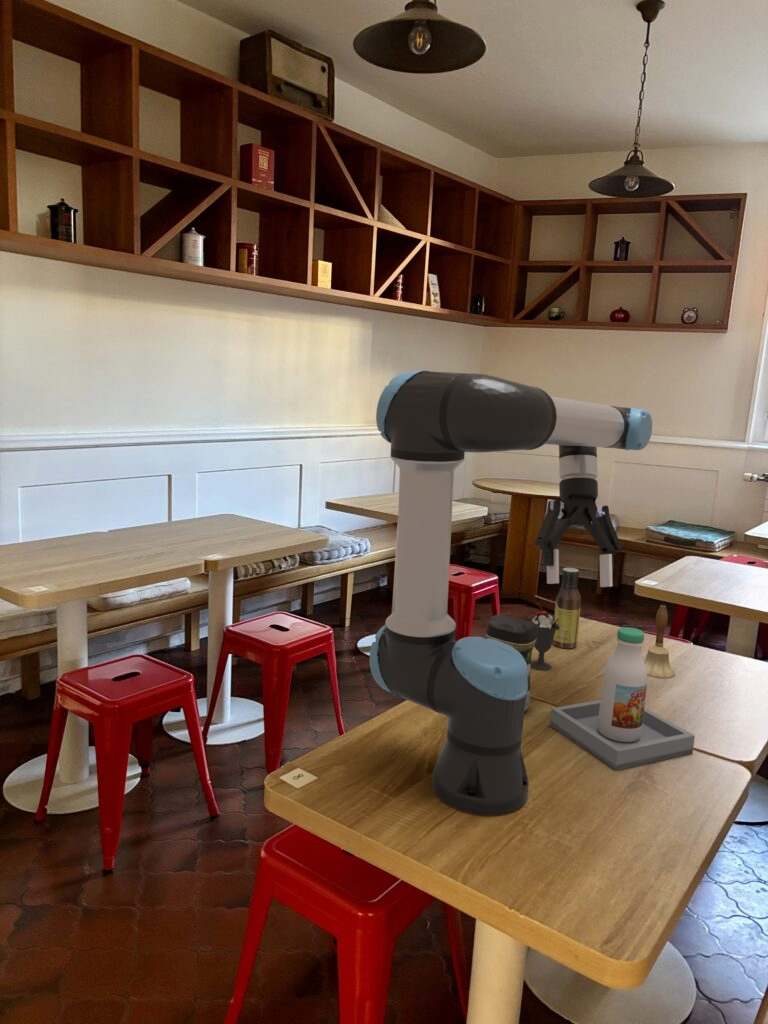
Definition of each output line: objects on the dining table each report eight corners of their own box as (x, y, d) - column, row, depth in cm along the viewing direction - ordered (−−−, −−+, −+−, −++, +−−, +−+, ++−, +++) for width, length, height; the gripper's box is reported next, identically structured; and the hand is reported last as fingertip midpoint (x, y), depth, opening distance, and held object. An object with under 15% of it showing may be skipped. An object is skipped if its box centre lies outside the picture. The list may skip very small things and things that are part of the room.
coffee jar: (473, 706, 151) (481, 616, 147) (491, 694, 157) (498, 608, 154) (518, 720, 145) (527, 628, 142) (534, 707, 152) (543, 618, 149)
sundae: (520, 661, 177) (526, 600, 174) (545, 660, 179) (551, 599, 176) (534, 672, 170) (540, 608, 168) (560, 670, 172) (566, 607, 170)
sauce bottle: (561, 639, 194) (569, 564, 191) (582, 646, 190) (590, 570, 186) (545, 644, 190) (553, 567, 187) (566, 651, 185) (574, 573, 182)
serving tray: (615, 770, 128) (618, 751, 127) (549, 725, 144) (551, 708, 143) (692, 753, 136) (694, 735, 135) (621, 712, 152) (623, 696, 151)
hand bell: (659, 680, 170) (668, 613, 167) (629, 668, 177) (637, 602, 174) (682, 674, 174) (691, 608, 172) (652, 662, 181) (660, 598, 179)
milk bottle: (592, 736, 138) (605, 631, 135) (601, 721, 145) (613, 621, 141) (636, 747, 134) (650, 640, 131) (643, 731, 141) (656, 629, 138)
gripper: (611, 489, 161) (614, 588, 158) (516, 476, 150) (517, 582, 147) (637, 483, 155) (641, 587, 151) (540, 469, 143) (541, 581, 140)
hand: (580, 585), depth 149 cm, fingers open, 13 cm apart
